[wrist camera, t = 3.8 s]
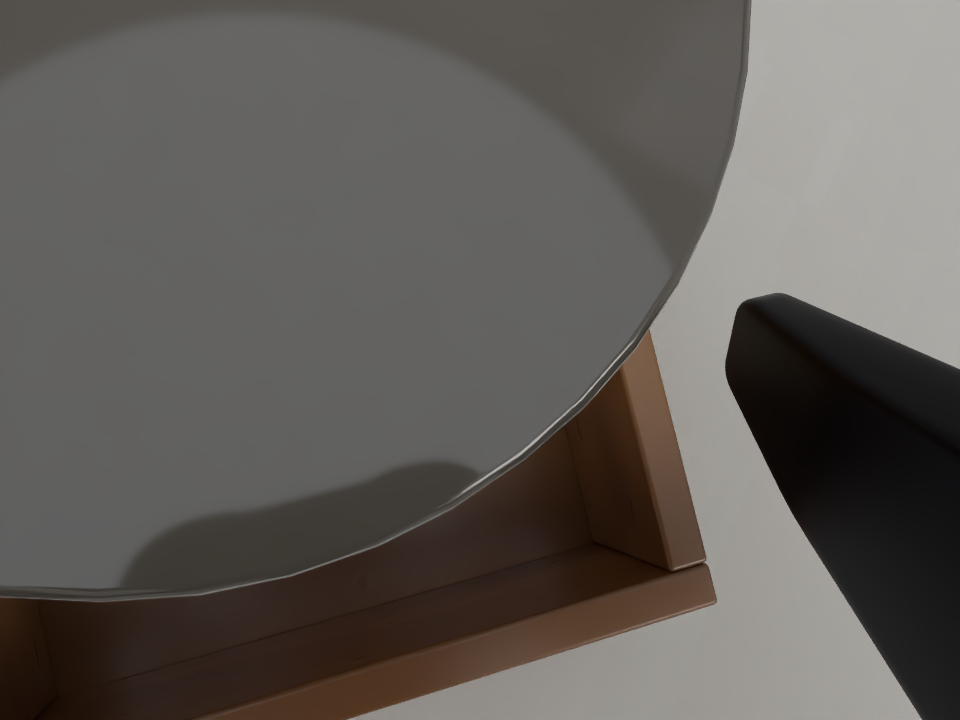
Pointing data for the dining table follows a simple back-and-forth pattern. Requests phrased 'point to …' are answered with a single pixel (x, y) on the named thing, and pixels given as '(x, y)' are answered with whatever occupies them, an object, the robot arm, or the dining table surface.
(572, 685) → the dining table surface
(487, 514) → the wooden box
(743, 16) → the jar
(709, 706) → the dining table surface
